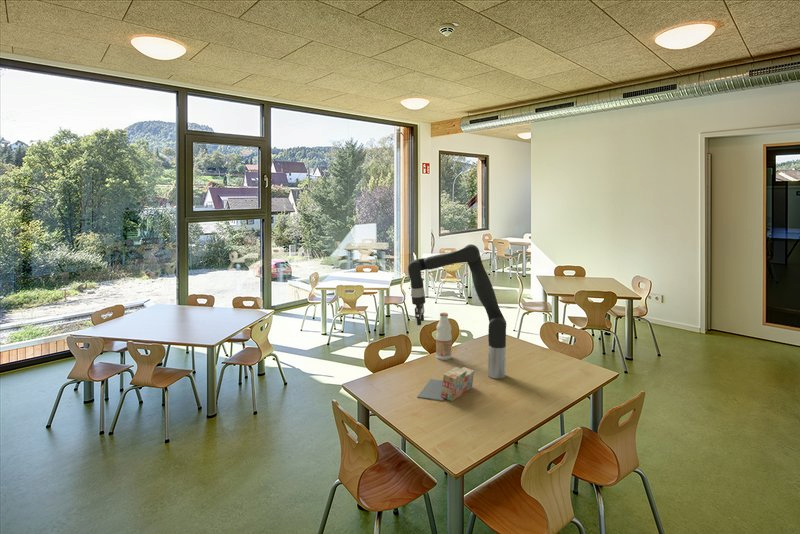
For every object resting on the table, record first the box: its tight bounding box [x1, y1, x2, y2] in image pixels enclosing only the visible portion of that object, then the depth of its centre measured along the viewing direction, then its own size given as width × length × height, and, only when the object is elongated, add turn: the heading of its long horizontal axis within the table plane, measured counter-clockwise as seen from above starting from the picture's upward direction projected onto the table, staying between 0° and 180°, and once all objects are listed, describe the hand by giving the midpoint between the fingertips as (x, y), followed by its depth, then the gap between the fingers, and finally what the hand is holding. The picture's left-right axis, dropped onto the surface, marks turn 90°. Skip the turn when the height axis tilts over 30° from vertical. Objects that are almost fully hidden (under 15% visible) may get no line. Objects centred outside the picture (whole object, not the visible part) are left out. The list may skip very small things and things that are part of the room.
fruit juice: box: [435, 312, 453, 361], centre depth 283 cm, size 9×9×28 cm
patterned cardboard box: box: [441, 366, 475, 402], centre depth 232 cm, size 21×6×12 cm, turn 144°
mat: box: [417, 378, 446, 402], centre depth 236 cm, size 13×24×1 cm, turn 161°
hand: (420, 322), depth 262 cm, fingers open, 8 cm apart
